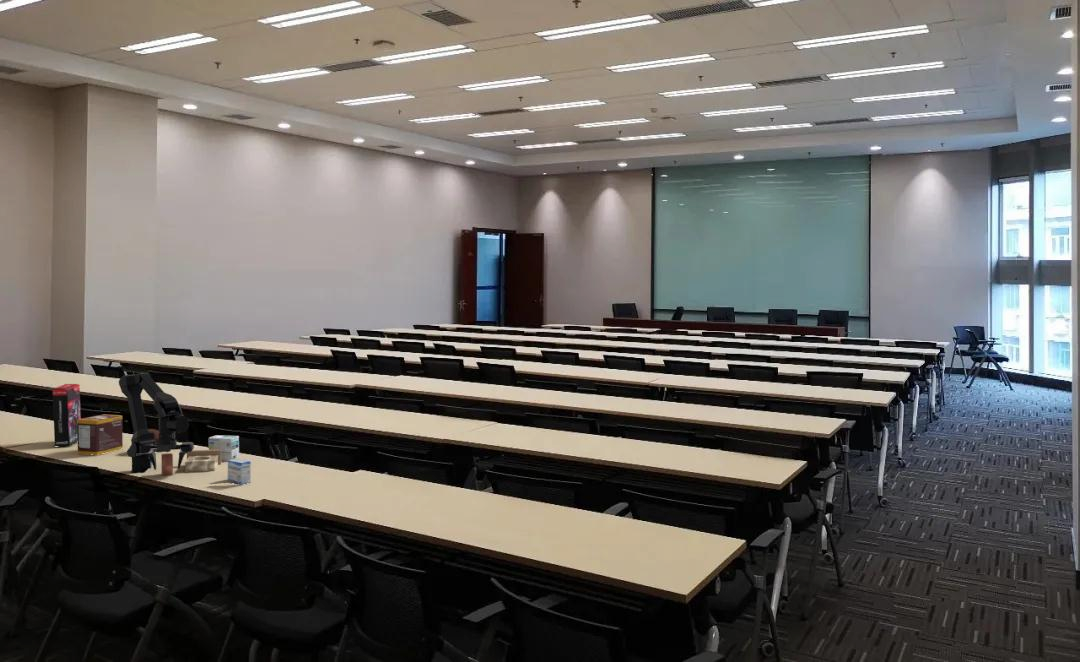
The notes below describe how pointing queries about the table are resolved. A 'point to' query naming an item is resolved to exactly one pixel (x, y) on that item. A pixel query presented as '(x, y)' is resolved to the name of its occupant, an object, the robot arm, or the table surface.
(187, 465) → the beige ashtray
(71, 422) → the graphics card box
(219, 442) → the light bulb box
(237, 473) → the medicine box
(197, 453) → the backstop board
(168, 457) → the dowel
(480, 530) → the table surface
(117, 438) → the supplement box
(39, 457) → the table surface
